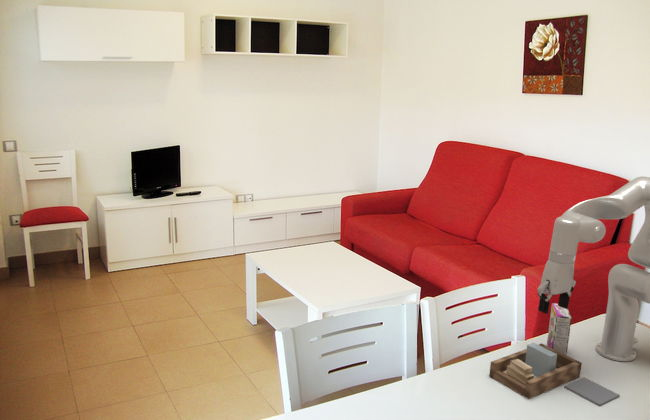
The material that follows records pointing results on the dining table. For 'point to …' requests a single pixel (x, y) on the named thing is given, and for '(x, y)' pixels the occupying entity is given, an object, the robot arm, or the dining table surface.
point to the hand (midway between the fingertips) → (552, 309)
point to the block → (540, 359)
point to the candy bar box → (559, 329)
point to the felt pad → (592, 391)
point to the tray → (563, 374)
